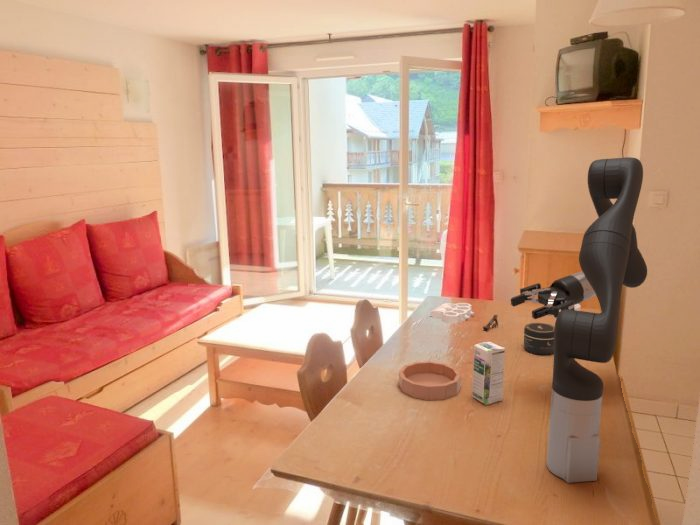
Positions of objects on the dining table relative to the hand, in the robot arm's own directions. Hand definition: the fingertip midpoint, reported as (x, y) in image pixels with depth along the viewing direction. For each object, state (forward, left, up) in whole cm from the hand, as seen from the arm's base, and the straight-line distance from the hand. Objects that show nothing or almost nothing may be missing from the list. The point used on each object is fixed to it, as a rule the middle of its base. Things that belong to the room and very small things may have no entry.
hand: (522, 308), depth 136 cm
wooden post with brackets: (+53, -12, -24) cm, 59 cm away
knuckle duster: (+68, -3, -25) cm, 73 cm away
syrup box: (+1, +8, -24) cm, 26 cm away
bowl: (+10, +21, -24) cm, 33 cm away
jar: (+31, -20, -24) cm, 44 cm away
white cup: (+45, -36, -24) cm, 62 cm away
